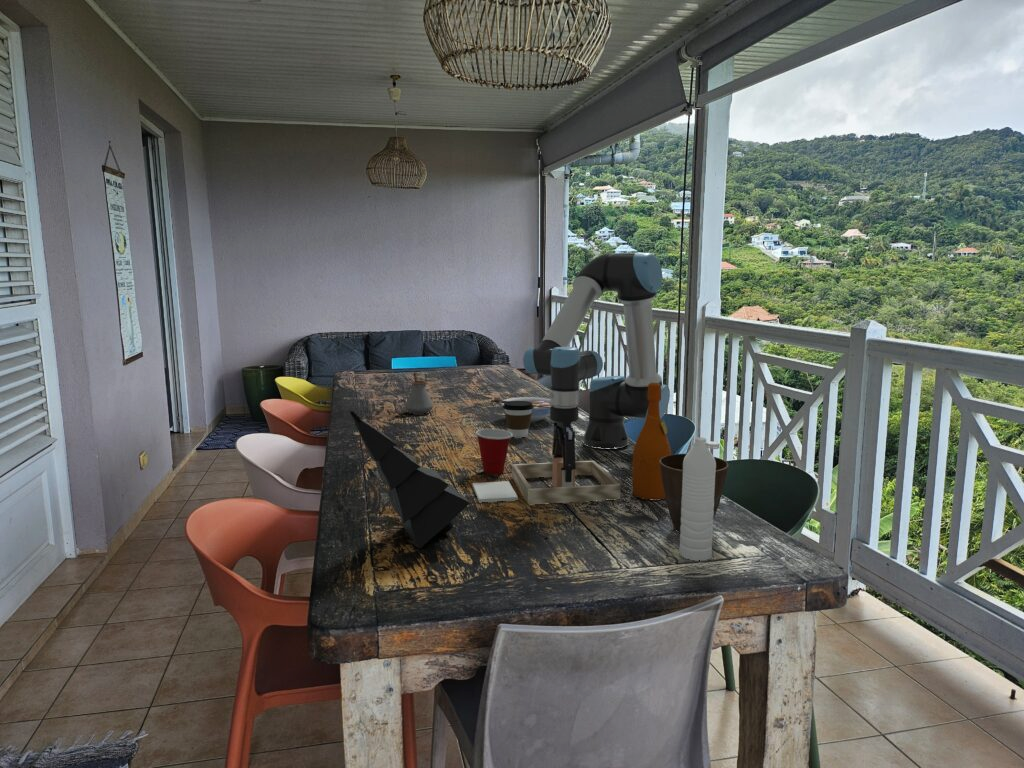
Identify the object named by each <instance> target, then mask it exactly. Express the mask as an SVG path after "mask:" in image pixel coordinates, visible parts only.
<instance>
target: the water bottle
mask: <svg viewBox="0 0 1024 768" xmlns="http://www.w3.org/2000/svg"><path fill="white" fill-rule="evenodd" d="M710 449H711V450H717V449H720V442H718V441H710V440H709V441H707V438H705V437H700V436H698V437H694V441H693V445H692V447H691V448H690V449H689V450H688V452H687V453H685V454H686V456H685V458H684V460H683V481H682V483H683V484H682V500H681V505H682V507H681V526H680V532H681V533H679V548H678V549H679V551H678V552H679V555H681V556H682V558H683V557H684V558H683V559H685V558H686V559H685V560H687V559H690V561H691V560H696V561H695V562H703V561H702V560H706V561H708V560H707V559H709V558H710V559H712V554H713V534H714V533H713V532H714V528H713V527H714V526H713V525H714V519H713V516H714V510H713V508H714V492H715V490H714V489H715V472H716V461H715V458H714V457H715V456H714V455H713V454H712V451H711V450H710ZM681 556H680V557H681ZM710 559H709V560H710ZM699 560H700V561H699Z"/></svg>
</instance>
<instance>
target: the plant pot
mask: <svg viewBox="0 0 1024 768" xmlns="http://www.w3.org/2000/svg"><path fill="white" fill-rule="evenodd" d="M686 454H687V453H673V454H671V455H668V456H665V457H662V458H661V459H660V469H661V477H662V484H663V489H664V494H665V499H664V500H665V502H666V506H667V511H668V513H669V517H670V519H671V522H672V526H673V528H674V530H675V529H676V530H677V531H679V532H680V526H681V507H682V505H681V500H682V484H683V483H682V481H683V460H684V458H685V456H686ZM713 457H714V458H715V461H716V472H715V489H714V490H715V492H714V508H713V510H714V516H713V520H714V518H715V516H716V514H717V511H718V508H719V505H720V503H721V499H722V497H723V496H722V495H723V492H724V488H725V485H726V480H727V475H728V471H729V470H728V469H729V463H728V462H727V460H724V459H722V458H719V457H716V456H713ZM676 530H675V531H676ZM677 531H676V532H677ZM679 532H678V533H679Z"/></svg>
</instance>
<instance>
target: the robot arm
mask: <svg viewBox="0 0 1024 768" xmlns="http://www.w3.org/2000/svg"><path fill="white" fill-rule="evenodd" d="M662 281H663V269H662V265H661V263H660V261H659V259H658V258H657V256H656V255H654V254H653V253H651V252H640V251H635V252H606V253H603V254H599V255H598V256H596V257H595V258H593V259H592V260H590V261H589V262H587V263H586V265H584V266H583V267H582V268H581V270H579V272H578V273H577V274H576V276H575V277H574V279H573V282H572V289H571V291H570V293H569V294H568V296H567V298H566V299H565V301H564V303H563V304H562V307H561V308H560V310H559V311H558V312H557V315H556V316H555V317H554V320H553V321H552V323H551V325H550V326H549V327H548V330H547V332H546V333H545V335H544V337H543V338H542V339H541V342H540V343H539V345H538V347H530V348H528V349H526V351H524V355H523V359H522V366H523V368H524V369H525V371H526V373H529V374H533V375H537V376H547V377H548V376H550V393H548V397H549V398H550V399H551V404H552V406H551V407H550V415H549V419H550V420H551V422H552V421H553V438H552V452H551V455H552V456H553V458H563V468H561V470H562V487H573V469H576V466H575V461H576V441H575V440H576V432H575V431H574V428H573V427H572V423H574V422H578V420H579V408H580V407H578V405H579V404H580V381H583V380H587V379H592V378H593V379H592V380H590V382H589V390H588V394H589V395H588V403H589V404H588V424H587V426H586V429H585V432H584V435H583V441H582V442H583V443H584V444H586V445H588V446H593V447H601V448H614V447H622V446H625V445H627V444H628V445H629V437H628V436H629V435H628V433H627V429H626V425H625V421H624V420H625V418H631V419H632V418H633V419H639V420H645V421H646V418H647V413H648V405H649V401H648V399H647V396H648V384H649V383H659V384H660V385H661V400H660V401H659V414H660V420H661V419H663V417H664V415H665V414H666V412H667V410H668V408H669V403H670V397H671V391H670V388H669V386H668V385H666V384H663V381H662V380H663V378H662V376H661V375H660V374H659V373H657V364H656V363H657V362H656V359H657V358H656V350H655V349H656V347H655V332H654V331H655V330H654V317H653V304H652V303H653V300H654V299H655V297H656V296H657V292H658V291H660V289H661V287H662V284H663V282H662ZM605 292H617V294H616V295H617V300H618V301H619V302H620V303H622V305H623V317H624V328H625V339H626V340H625V341H626V350H627V352H626V354H627V362H628V363H627V364H628V375H627V376H626V377H625V376H624V375H610V376H609V375H608V376H600V377H596V376H598V375H599V374H600V373H601V372H602V370H603V369H604V368H603V367H604V362H603V358H602V356H601V355H600V354H599V353H598V352H597V351H595V350H583V351H580V349H579V348H578V347H574V346H570V344H571V343H572V341H573V339H574V337H575V336H576V334H577V332H578V330H579V328H580V327H581V326H582V324H583V322H584V320H585V318H586V316H587V314H588V313H589V311H590V309H591V307H592V305H593V304H594V303H595V301H596V300H599V299H600V298H601V297H602V295H603V293H605ZM584 444H583V445H584ZM569 464H571V465H569Z"/></svg>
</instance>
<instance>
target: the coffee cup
mask: <svg viewBox="0 0 1024 768" xmlns="http://www.w3.org/2000/svg"><path fill="white" fill-rule="evenodd" d="M503 408H504V409H505V411H504V416H505V423H506V428H507V431H508V432H511V433H512V434H513V436H512V437H515V438H514V439H523V438H522V437H525V438H527V437H528V435H529V428H530V427H531V426H530V425H531V423H530V420H531V414H532V413H531V411H532V409H533V408H534V406H533V404H532V403H531V402H529V401H508V402H505V403H504V405H503ZM503 408H502V409H503ZM504 409H503V410H504ZM512 437H511V438H512Z"/></svg>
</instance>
